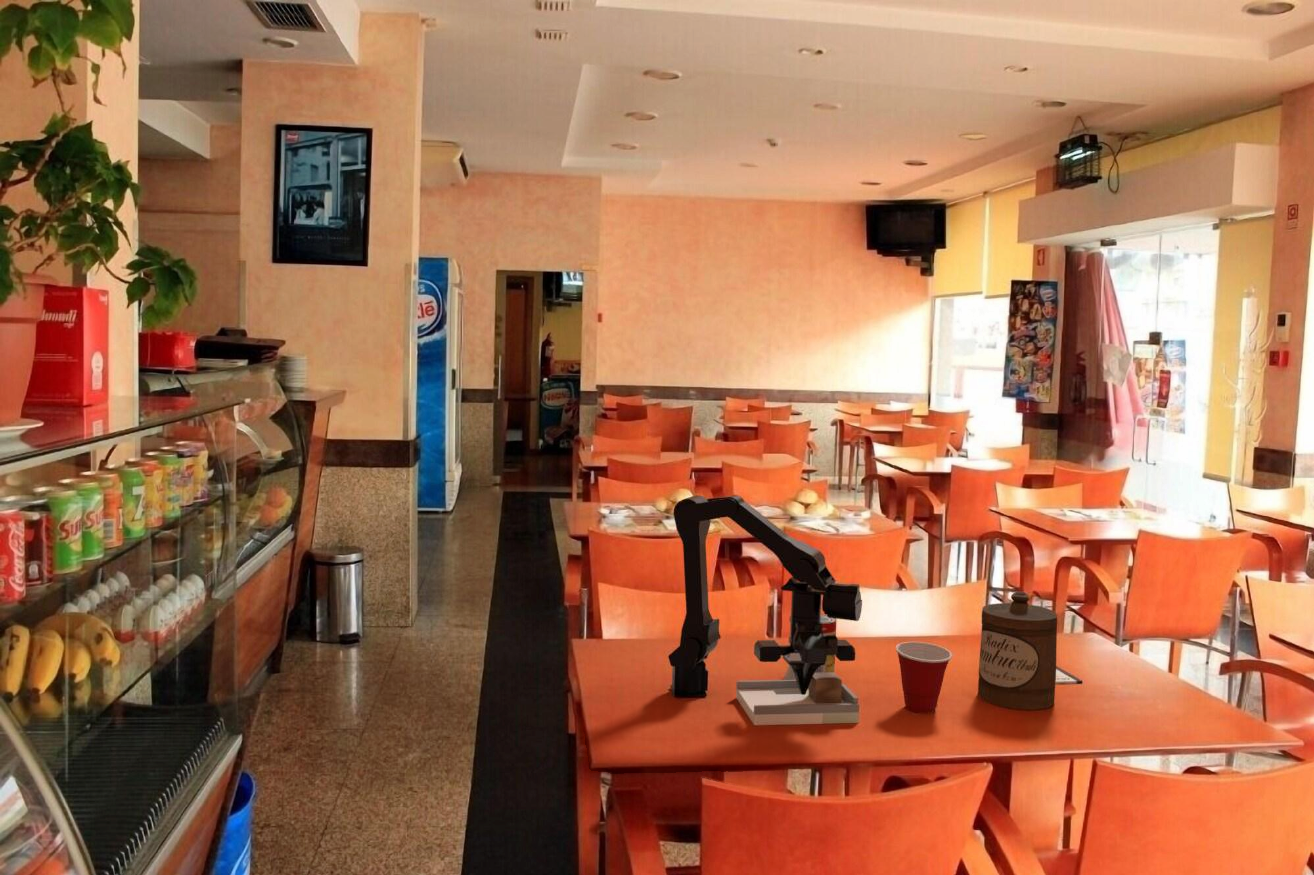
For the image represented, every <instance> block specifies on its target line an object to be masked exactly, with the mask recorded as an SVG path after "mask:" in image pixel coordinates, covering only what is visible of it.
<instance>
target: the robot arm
mask: <svg viewBox="0 0 1314 875" xmlns="http://www.w3.org/2000/svg"><path fill="white" fill-rule="evenodd" d="M723 518H729V519H730V520H731V521H733V522H734V523H735V524H737V525H738V526H739V527H740V528H742V529H743V530H744V531H746V532H747V533H748V534H749V535H751V536H752V537H753V538H754V539H755V540H757V541H758V542H759V543H761V544H762V545H763V546H764V547H765V548H767V549H768V550H769V551H771V552H772V553H773V554H774V555H775V556H776V557H777V559H778V560H779V562H780V563H781V565H782V567H783V568H784V569H785V571H787V572H788V573H789V575H791V577H790V578H788V581H787V582H786V583H785V584H784V585H782V586H780V588H781V589H780V590H782V591H786V592H791V598H790V599H791V605H790V616H789V623H790V628H789V630H790V631H789V633H790V634H789V636H788V643H789V645H787V644H786V645H785V644H784V645H783V644H782V645H779V644H778V643H777V642H776V640H773V639H772V640H771V639H769V640H767V639H766V640H765V639H762V640H761V639H760V640H757V641H756V642H755V643H754V646H753V654H754V655H755V657H756V658H757V660H759V661H760V662H761V663H762V662H763V663H776V662H778V661H779V660H780V659H783V660H784V661H785V662H786V664H787V665H788V666H789V665H791V667H792V670H793V672H794V675H795V678H796V681H797V684H798V687H799V691H800V693H801V695H805V694H806V691H807V689H808V686H809V684H810V682H811V679H812V677H813V675H814V673H815V671H816V670H817V668H818V667H820V666H821V665H825V663H826V660H827V655H835V658H836V659H838V660H839V662H854V661H855V660H856V648H855V647H854V646H853V645H852V644H851V643H850V642H849V641H847V639H838V637H837V634H836V635H827V636H823V632H822V623H821V614H822V612H823V613H824V615H827V616H828V618H836V619H838V620H845V621H852V622H853V621H854V622H859V621H860V618H861V614H862V609H863V608H862V607H863V599H862V595H861V591H860V589H861V588H860V584H858V583H857V584H856V583H849V584H847V583H838V582H836V579H835V577H834V576H833V575H832V573H831V571H830V570H829V569H828V566H827V565H826V558H825V555H824V554H823V553H822V551H820V550H819V549H817V548H815V547H813V546H811V545H810V544H807V542H803V541H801V540H799V539H795V538H794V537H792V536H790V535H788V534H787V533H786V532H785V531H783V530H782V529H781V528H779V527H778V526H777V525H775V523H773V522H772V521H770V520H769V519H768V518H767V517H766V516H764V515H763V514H762V513H761V512H759V511H758V510H756V509H755V508H754V507H752V506H751V505H750V504H749V503H748V502H746V501H745V499H744V498H743V497H742V496H740V495H738V494H731V495H730V496H722V497H721V496H720V497H712V498H711V497H710V498H706V497H704V496H702V495H692V496H689V497H687V498H683V499H681V500H679V501H678V502H677V503H676V504H675V506H674V507H673V519H674V523H675V527H676V531H677V534H678V536H679V538H680V540H681V542H682V543H681V544H682V549H683V550H682V551H683V572H684V574H683V576H684V594H685V597H684V598H685V616H684V620H683V624H682V626H681V632H680V639H679V640H680V641H679V646H678V647H676V649H674V650H673V651H672V652H671V653H670V654H669V655H668V658H667V659H668V660H669V664H670V666H671V668H672V675H671V681H672V682H671V685H670V686H669V688H670V690H671V692H672V694H673V696H674V697H675V698H676V697H677V698H685V697H686V698H689V697H698V698H699V697H707V696H708V695H707V694H708V693H707V691H708V687H709V686H708V684H709V670H708V669H707V668H706V667H707V665H706V663H705V660H706V659H708V656H709V654H710V653H712V651H714V650H715V649H716V647H717V646H718V642H719V640H720V639H722V636H721V634H720V628H719V627H720V619H719V618H714V619H713V617H712V615H711V614H712V613H711V612H710V608H709V607H710V606H709V588H708V586H709V585H708V568H707V564H708V563H707V547H706V541H707V536H708V533H709V531H710V527H711V521H712V520H716V519H723ZM781 656H782V657H781Z"/></svg>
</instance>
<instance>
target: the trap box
mask: <svg viewBox="0 0 1314 875" xmlns="http://www.w3.org/2000/svg"><path fill="white" fill-rule="evenodd" d="M735 689H736V692H735V693H736V694H735V698H736V700H737V701H738V703H739V705H740V707H741V708H742V709H743V710H744V712H745V714H746V715H747V717H748V718H749V719H750V721H751V723H752V724H753V725H754V726H778V725H780V726H782V725H815V724H816V725H819V724H821V725H823V724H826V725H827V724H858V723H859V719H860V704H859V697H858V696H857V695H856V694H855V693H853V691H852V690H851V689H850V688H849V687H848V686H847V685H846V683H844V682H843V681H842V689H841V703H815V702H814V701H813V700H812V699H811V697H810V696H809V686H808V689H807V691H806V694H805V695H801V693H800V691H799V687H798V684H797V681H796V680H784V679H767V680H766V679H764V680H763V679H760V680H759V679H758V680H757V679H756V680H755V679H754V680H736V688H735Z"/></svg>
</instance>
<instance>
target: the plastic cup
mask: <svg viewBox="0 0 1314 875" xmlns="http://www.w3.org/2000/svg"><path fill="white" fill-rule="evenodd" d="M895 651H896V652H897V657H898V661H899V662H898V663H899V668H900V677H901V678H900V679H901V686H902V692H903V699H904V705H905V709H907V710H908V711H910V712H914V713H919V714H930V713H933V712H935V711H936V709H937V707H938V706H937V705H938V702H939V696H940V693H941V691H942V686H943V681H944V676H945V672H946V669H947V667H948V664H949V661H950V660H951V659H952V657H953V653H952V652H951V650H949V649H947V648H946V647H943V646H940V645H938V644H935V643H929V642H923V641H905V642H901V643H898V644H896V646H895Z"/></svg>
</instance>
